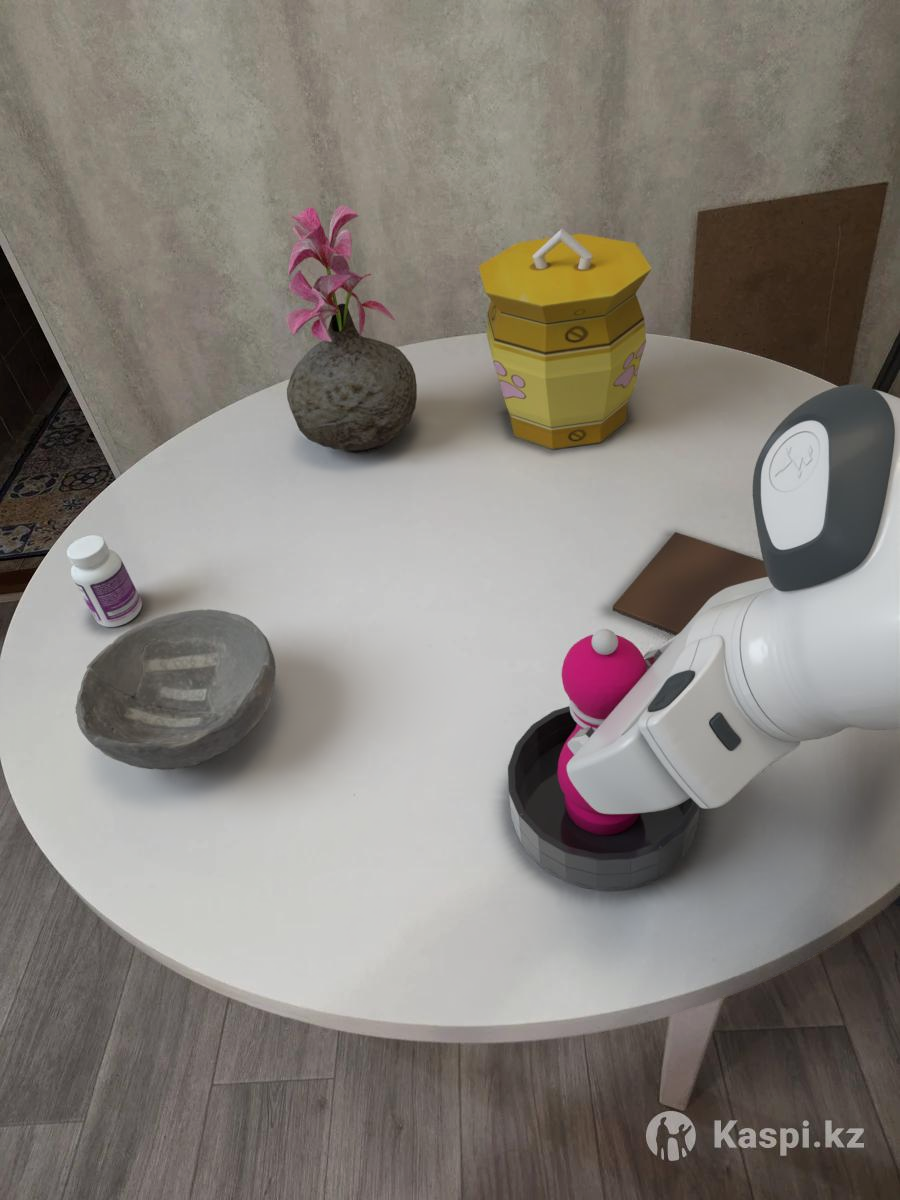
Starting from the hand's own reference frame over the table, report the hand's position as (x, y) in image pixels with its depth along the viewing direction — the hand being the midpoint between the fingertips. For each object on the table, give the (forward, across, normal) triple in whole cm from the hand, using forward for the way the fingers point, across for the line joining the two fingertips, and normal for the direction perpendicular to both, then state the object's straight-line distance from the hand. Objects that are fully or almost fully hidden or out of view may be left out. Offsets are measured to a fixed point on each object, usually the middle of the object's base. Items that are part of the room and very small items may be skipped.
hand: (615, 703), depth 63 cm
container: (+37, -48, -17) cm, 63 cm away
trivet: (+14, -27, +5) cm, 31 cm away
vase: (+52, -30, -32) cm, 68 cm away
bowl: (+35, +16, -17) cm, 42 cm away
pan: (+10, +1, +9) cm, 13 cm away
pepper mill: (+9, +1, +9) cm, 13 cm away
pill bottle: (+50, +11, -32) cm, 61 cm away
